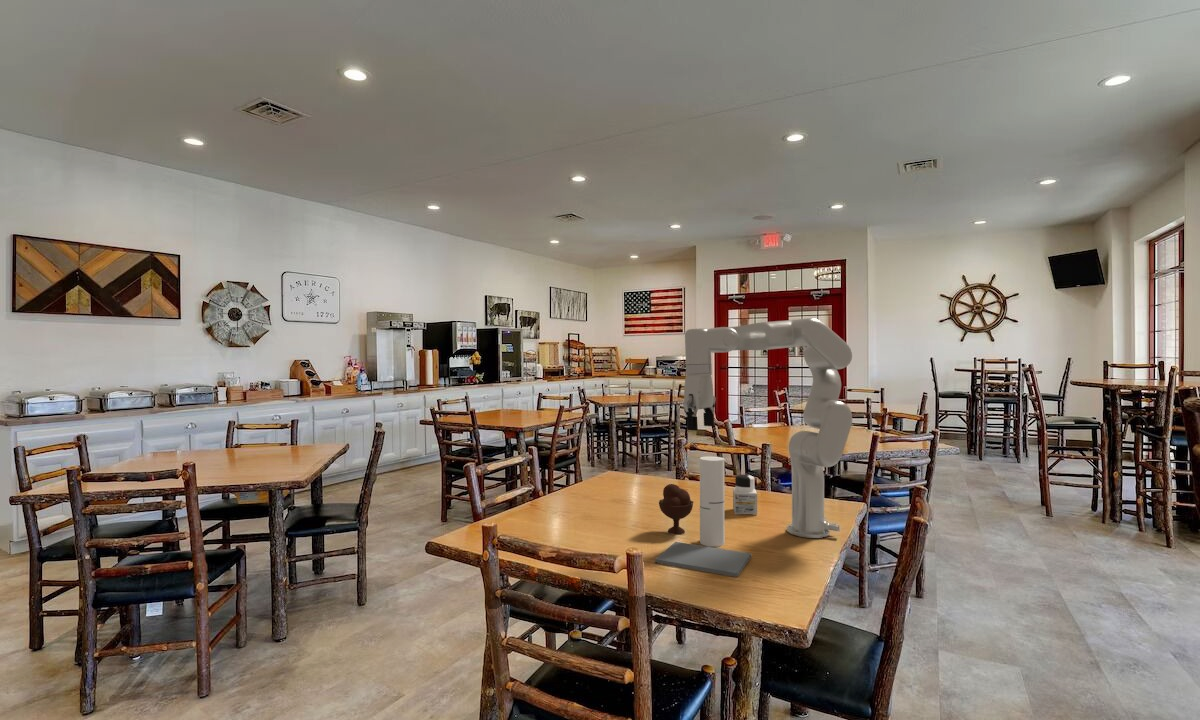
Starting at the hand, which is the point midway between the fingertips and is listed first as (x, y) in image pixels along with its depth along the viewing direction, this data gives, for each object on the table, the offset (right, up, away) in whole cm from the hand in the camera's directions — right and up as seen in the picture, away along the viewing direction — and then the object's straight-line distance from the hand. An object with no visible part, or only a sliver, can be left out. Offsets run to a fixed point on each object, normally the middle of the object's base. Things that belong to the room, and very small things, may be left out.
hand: (700, 428), depth 167 cm
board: (-2, -34, -14) cm, 37 cm away
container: (+22, -34, +33) cm, 52 cm away
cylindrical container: (+3, -34, 0) cm, 34 cm away
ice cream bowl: (-6, -34, +11) cm, 36 cm away
